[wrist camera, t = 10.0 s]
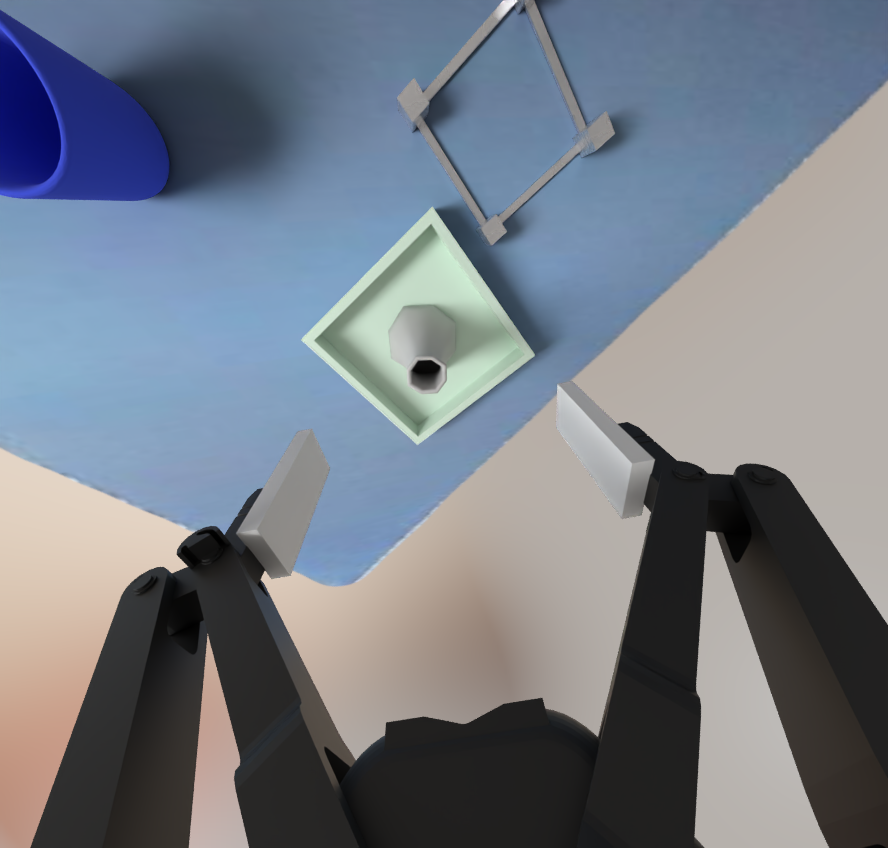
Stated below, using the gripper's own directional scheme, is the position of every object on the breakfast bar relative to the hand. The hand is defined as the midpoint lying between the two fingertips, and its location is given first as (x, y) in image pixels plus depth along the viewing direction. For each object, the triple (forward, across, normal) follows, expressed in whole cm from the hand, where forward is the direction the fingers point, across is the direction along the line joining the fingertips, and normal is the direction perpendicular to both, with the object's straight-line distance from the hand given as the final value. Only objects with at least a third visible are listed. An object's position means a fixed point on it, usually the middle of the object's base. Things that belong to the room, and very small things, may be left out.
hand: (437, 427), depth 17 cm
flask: (+18, -1, 0) cm, 18 cm away
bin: (+18, -1, 0) cm, 19 cm away
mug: (+19, -22, +19) cm, 34 cm away
